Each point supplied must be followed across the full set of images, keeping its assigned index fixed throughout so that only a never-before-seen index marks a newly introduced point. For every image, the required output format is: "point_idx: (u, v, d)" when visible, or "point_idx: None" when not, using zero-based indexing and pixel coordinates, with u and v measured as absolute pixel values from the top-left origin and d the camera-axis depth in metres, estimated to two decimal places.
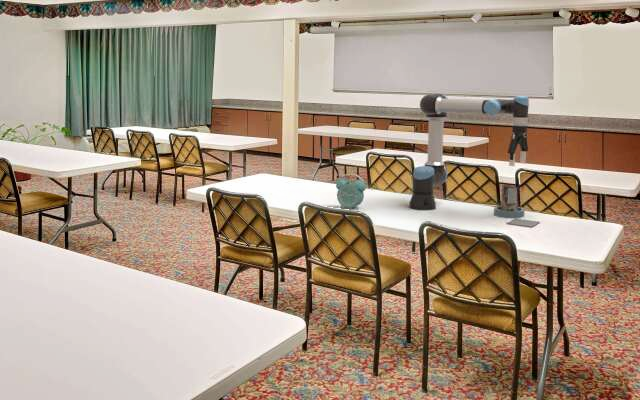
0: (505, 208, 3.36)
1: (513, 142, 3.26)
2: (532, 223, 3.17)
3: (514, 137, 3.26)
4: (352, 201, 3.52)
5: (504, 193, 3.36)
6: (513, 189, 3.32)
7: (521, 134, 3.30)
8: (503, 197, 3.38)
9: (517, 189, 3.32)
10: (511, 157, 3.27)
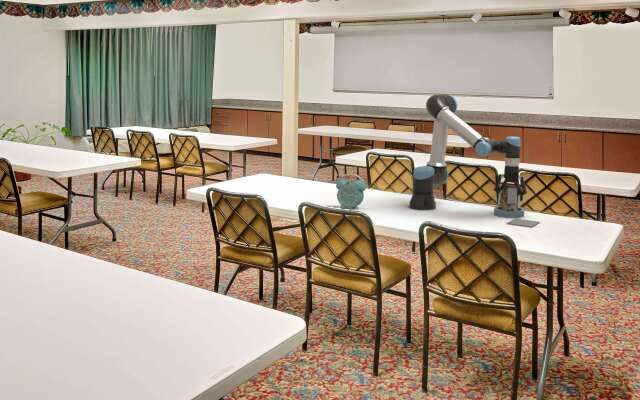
0: (505, 208, 3.36)
1: None
2: (532, 223, 3.17)
3: None
4: (352, 201, 3.52)
5: (504, 193, 3.36)
6: (513, 189, 3.32)
7: (511, 174, 3.34)
8: (503, 197, 3.38)
9: (517, 189, 3.32)
10: None
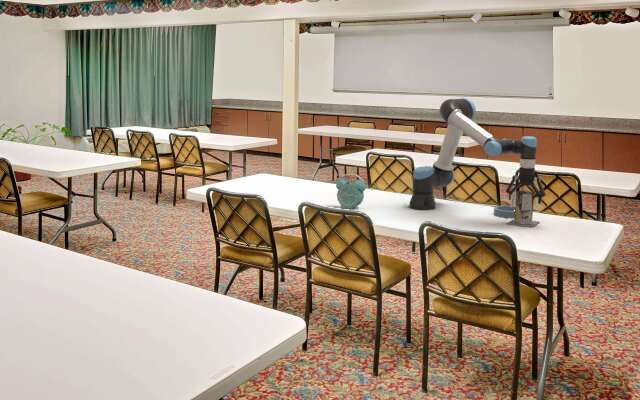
0: (519, 215, 3.17)
1: None
2: (532, 223, 3.17)
3: None
4: (352, 201, 3.52)
5: (518, 199, 3.17)
6: (528, 195, 3.13)
7: (526, 176, 3.14)
8: (517, 203, 3.19)
9: (532, 195, 3.13)
10: None
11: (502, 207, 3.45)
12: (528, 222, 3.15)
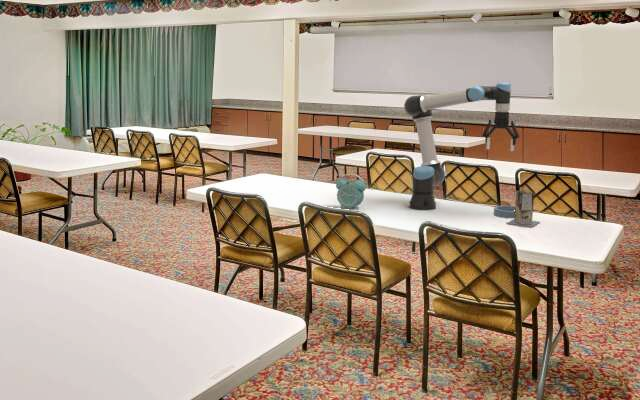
0: (519, 215, 3.17)
1: None
2: (532, 223, 3.17)
3: None
4: (352, 201, 3.52)
5: (518, 199, 3.17)
6: (528, 195, 3.13)
7: (501, 120, 3.37)
8: (517, 204, 3.19)
9: (532, 195, 3.13)
10: None
11: (502, 207, 3.45)
12: (528, 222, 3.15)
